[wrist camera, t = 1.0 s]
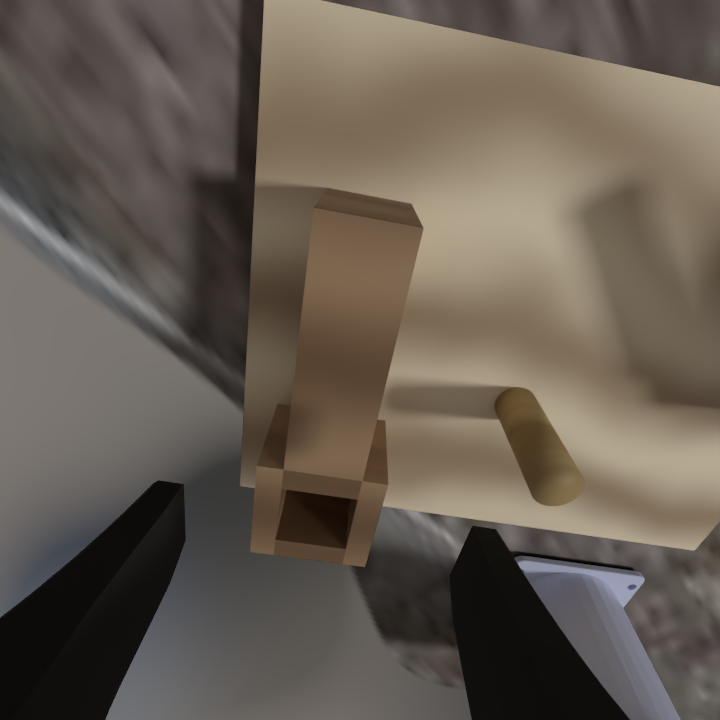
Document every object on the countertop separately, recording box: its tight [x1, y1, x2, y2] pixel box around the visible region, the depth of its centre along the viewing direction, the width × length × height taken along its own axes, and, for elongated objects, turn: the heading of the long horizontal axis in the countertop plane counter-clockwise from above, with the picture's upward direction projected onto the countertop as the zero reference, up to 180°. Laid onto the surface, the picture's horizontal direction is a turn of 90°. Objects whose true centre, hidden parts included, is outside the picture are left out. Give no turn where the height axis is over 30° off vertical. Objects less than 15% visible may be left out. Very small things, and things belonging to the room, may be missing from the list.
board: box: [240, 0, 720, 550], centre depth 16 cm, size 20×25×6 cm
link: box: [250, 188, 424, 567], centre depth 17 cm, size 14×5×4 cm, turn 170°
